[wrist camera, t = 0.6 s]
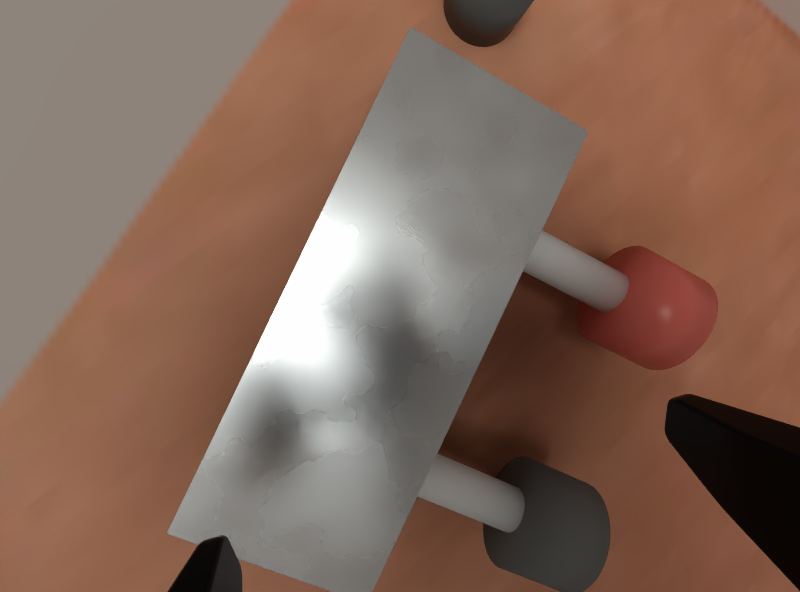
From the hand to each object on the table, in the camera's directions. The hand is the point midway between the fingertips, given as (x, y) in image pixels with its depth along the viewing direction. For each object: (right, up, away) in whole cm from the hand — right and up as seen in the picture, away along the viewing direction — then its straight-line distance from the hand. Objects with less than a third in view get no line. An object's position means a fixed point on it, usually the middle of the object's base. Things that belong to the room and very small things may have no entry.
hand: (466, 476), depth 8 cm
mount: (-3, +3, +12) cm, 13 cm away
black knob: (0, -4, +12) cm, 12 cm away
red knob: (+5, +5, +12) cm, 13 cm away
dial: (+3, +17, +12) cm, 21 cm away
